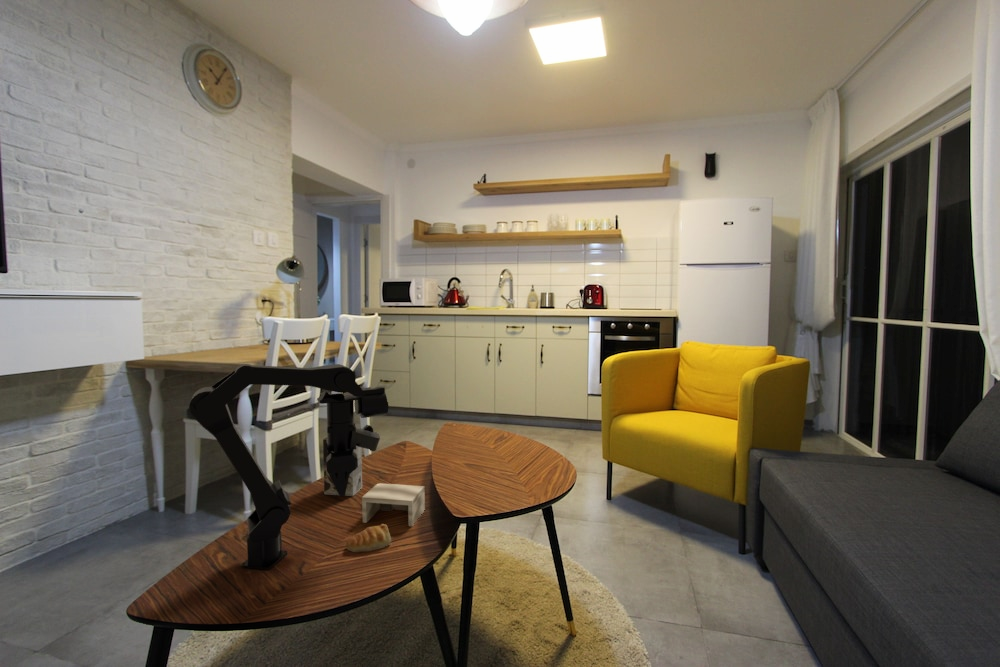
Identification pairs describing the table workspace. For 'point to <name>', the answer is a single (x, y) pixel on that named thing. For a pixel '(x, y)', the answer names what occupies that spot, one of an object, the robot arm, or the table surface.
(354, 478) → the coffee box
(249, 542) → the robot arm
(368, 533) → the pastry
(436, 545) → the table surface
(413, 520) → the plain beige box
